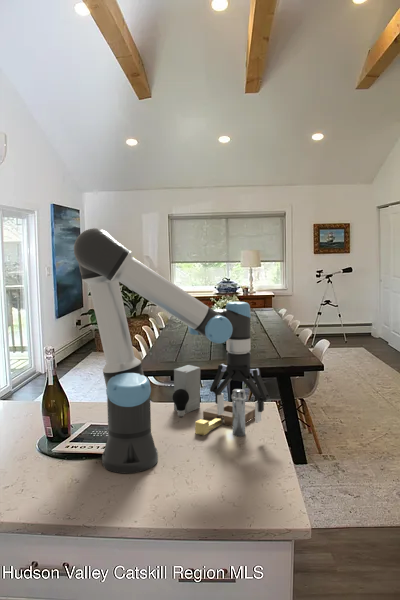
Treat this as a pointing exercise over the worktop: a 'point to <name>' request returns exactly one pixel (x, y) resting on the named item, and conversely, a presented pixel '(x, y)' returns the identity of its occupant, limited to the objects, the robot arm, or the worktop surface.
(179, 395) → the light bulb
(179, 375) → the skincare box
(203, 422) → the lock pin
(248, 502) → the worktop surface
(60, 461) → the worktop surface
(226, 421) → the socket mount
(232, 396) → the cylinder
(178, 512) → the worktop surface
